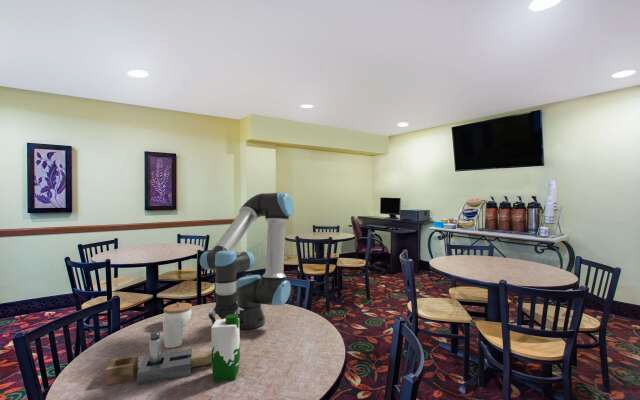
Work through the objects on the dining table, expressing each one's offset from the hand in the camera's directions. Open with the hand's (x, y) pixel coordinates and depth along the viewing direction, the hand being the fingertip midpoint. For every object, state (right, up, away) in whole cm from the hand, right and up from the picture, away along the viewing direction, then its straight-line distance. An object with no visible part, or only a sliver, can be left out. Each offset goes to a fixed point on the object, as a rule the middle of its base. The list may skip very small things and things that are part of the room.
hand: (227, 356), depth 118 cm
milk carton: (+3, -2, -10) cm, 11 cm away
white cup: (-27, -3, +15) cm, 31 cm away
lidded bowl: (-35, -3, +37) cm, 50 cm away
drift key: (-9, -2, -3) cm, 10 cm away
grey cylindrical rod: (-23, -2, -8) cm, 24 cm away
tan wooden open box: (-33, -2, -9) cm, 35 cm away
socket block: (-20, -2, -7) cm, 21 cm away
